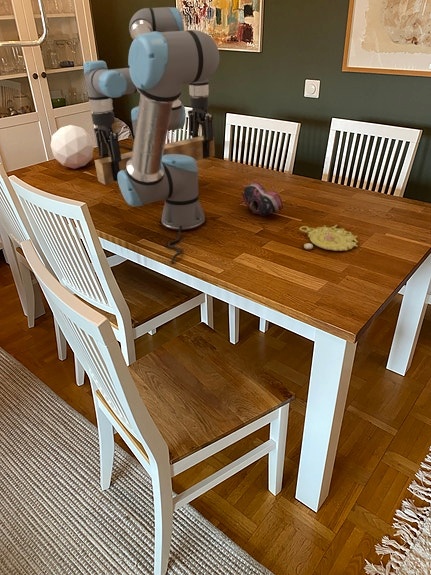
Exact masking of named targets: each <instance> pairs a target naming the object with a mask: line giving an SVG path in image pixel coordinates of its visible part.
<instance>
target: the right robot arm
mask: <svg viewBox="0 0 431 575" xmlns="http://www.w3.org/2000/svg"><path fill="white" fill-rule="evenodd" d="M132 40H133V39H132ZM127 58H128V59H127V60H128V61H127V63H128V64H127V65H128V66H129V67H123V68H114V69H113V68H112V69H109V68H108V66H107V63H106V61H104V60H89V61H85V62H83V64H82V67H83V76H84V80H85V85H86V92H87V97H88V104H89V110H90V112H91V120H92V124H93V125H94V126H97V127H94V128H93V132H94V136H95V140H96V141H95V142H96V147H97V154H98V157H100V159H102V158H107V157H110V158H111V161H112V162H110V164H111V169H112V175H113V181H118V182H117V184H118V187H119V191H120V194H121V195H122V197H123V200H124V201H125V202H126V204H127V205H129V206H130V207H132V208H135V207H142V206H145V205H149V204H153V203H156V202H159V201H163V200H164V204H163V209H162V213H161V219H160V220H161V225H162V227H163V228H165V229H167V230H170V231H175V232H176V231H177V232H178V233H177V234H178V236H177V238H176V239H174V240H172V241H169V242H168V243H167V246H168V248H170V249H173V250H177V251H178V252H176V253H175V254H174V255H173V256H172V257H171V261H170V265H174V261H175V259H176V257H178V256H179V255H181V254H182V249H181V247H178V246H174V245H172V244H175V243H178V242H179V241H180V240H181V237H182V235H181V234H182V232H185V231H186V232H187V231H192V230H195V229H198V228H201V227H202V226H203V225H204V224H205V223H206V217H205V212H204V210H203V208H202V204H201V202H200V196H199V176H198V173H199V170H198V164H197V163H198V162H197V161H196V160H195V159H194V158H192V157H190V156H186V155H180V154H168V155H163V151H164V146H165V144H166V140H167V136H168V126H169V121H170V116H171V111H172V105H173V102H174V101H176V100H177V99H180V97H181V95H182V91H183V86H184V85H187V84H188V85H189V83H195V82H200V81H203V80H206V79H208V80H209V79H210V77H211V78H212V76H213V75H214V74H215V72H216V71H217V69H218V67H219V64H220V50H219V47H218V45H217V43H216V41H215V40H214V39H213V38H212V37H211V36H210V35H209V34H207V33H206V32H204V31H201V30H197V29H187V30H184V31H172V32H156V31H154V32H150V33H145V34H141V35H139V36H137V37H136V38H135V39H134V40H133V41H132V42H131V45H130V46H129V50H128V57H127ZM138 93H139V103H138V106H139V110H138V118H137V126H136V134H135V142H134V141H133V144H134V150H133V157H131V158H130V159H129V160H128V161H127V165H126V170H121V171H120V169H119V162H120V161H122V160H121V154H122V153H121V148H120V146H119V145H120V143H119V134H118V132H116V131H115V132H114V128H113V124H115V123H116V118H115V112H114V111H113V110H114V107H113V103H114V102H113V101H114V100H113V99H114V98H115V99H116V98H120V97H122V96H124V95H132V94H138Z"/></svg>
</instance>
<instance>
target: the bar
mask: <svg viewBox="0 0 431 575" xmlns="http://www.w3.org/2000/svg"><path fill="white" fill-rule="evenodd" d="M206 139H207V138H206ZM203 141H204V138H203V135H199V137H194V138H192V137H191V138H186V139H181V140H177V141H174V142H169V143H165V146H164V151H163V155H168V154H180V155H186V156H190V157H192V158H194V159H195V160H196V162H197V161H201V160H205V159H209V158H213V157H215V156H216V154H215V152H216V151H215V150H216V149H215V137H214V136H213V140H212V141H210V149H209V156H210V157H207V158H203ZM120 154H121V160H122V161H120V162H119V169H120V171H121V170H126V165H127V161H128V160H129V159H130V158H131V157H133V152H132V151H129V152H125V153H120ZM110 162H112V161H111V158H110V157H107V158H99V159H94V166H95V171H96V177H97V181H98V182H99V183H101V184H103V185H104V186H107V185H111V184H113V183H118V181H113V175H112V169H111V164H110Z"/></svg>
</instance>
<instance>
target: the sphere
mask: <svg viewBox="0 0 431 575" xmlns="http://www.w3.org/2000/svg"><path fill="white" fill-rule="evenodd" d="M50 148H51V152H52V155H53V158H54V159H55V160H56V161H57V162H58V163H60V164H61V165H62V166H63V167H66V168H70V169H72V170H73V169H74V170H75V169H79V168H82V167H84V166H86V165H87V164H88V163H89V162H91V160H93V157H94V149H95V146H94V142H93V138H92V136H91V135H90V134H89V133H88V132H87V131H86V130H85V129H84V128H83V127H82V126H81V127H80V126H77V125H74V124H69V125H65V126H62V127H60V128H58V129H57V131H55V132H54V133H53V134H52V136H51V141H50Z"/></svg>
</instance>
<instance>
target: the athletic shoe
mask: <svg viewBox="0 0 431 575" xmlns="http://www.w3.org/2000/svg"><path fill="white" fill-rule="evenodd" d="M241 197H242V199H243V201H238V203H239V204H241V205H245V206H246V207H247V208H248V210H249V211H250V210H251V213H252V214H255V215H260V217H266V216H267V215H270V214H274V213H275V212H279V211H282V210H283V209H284V205H283V201H282V198H281V196H280V195H279V194H278V192H277V191H274V190H269V191H267V190H266V189H265V187H264V186H263V185H262V184H261V183H258V182H251V183H249V184H247V186H246V187H245V188H244V190H243V191H242V192H241Z"/></svg>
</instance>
